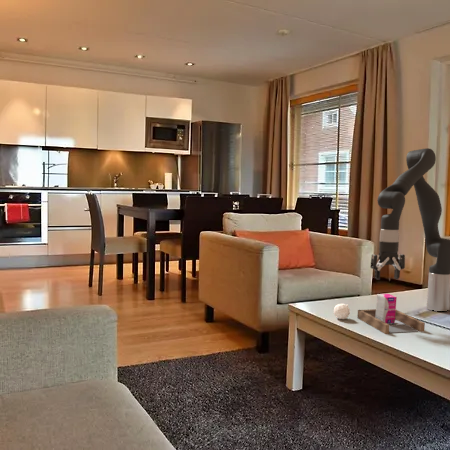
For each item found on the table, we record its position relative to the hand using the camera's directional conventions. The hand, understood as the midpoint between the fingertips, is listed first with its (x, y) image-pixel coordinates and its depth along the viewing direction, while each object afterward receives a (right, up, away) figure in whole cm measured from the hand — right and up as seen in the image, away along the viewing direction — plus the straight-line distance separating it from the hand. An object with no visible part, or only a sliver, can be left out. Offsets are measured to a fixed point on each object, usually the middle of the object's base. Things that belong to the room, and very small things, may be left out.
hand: (386, 279), depth 194 cm
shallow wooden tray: (+1, -19, -2) cm, 19 cm away
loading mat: (+2, -19, -7) cm, 20 cm away
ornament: (-18, -18, +5) cm, 25 cm away
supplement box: (0, -18, +2) cm, 18 cm away
